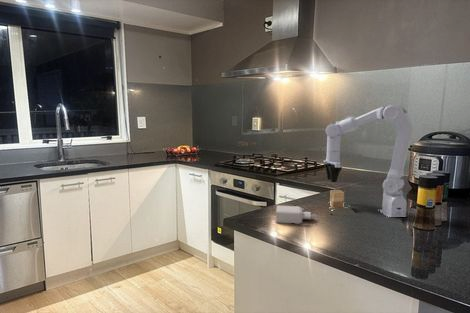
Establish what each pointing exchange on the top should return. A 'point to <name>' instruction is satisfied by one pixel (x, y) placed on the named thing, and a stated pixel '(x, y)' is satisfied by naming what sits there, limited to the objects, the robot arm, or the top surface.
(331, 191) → the oak block
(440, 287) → the top surface
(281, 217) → the white bottle
